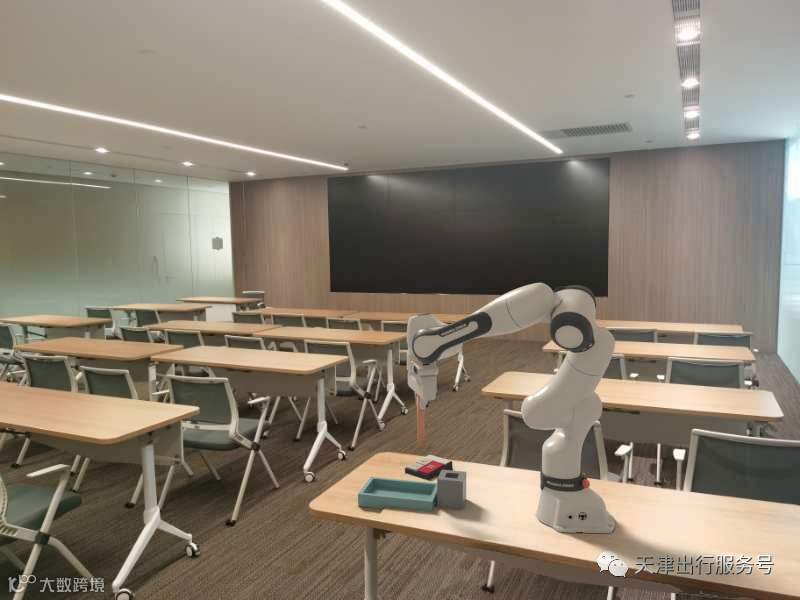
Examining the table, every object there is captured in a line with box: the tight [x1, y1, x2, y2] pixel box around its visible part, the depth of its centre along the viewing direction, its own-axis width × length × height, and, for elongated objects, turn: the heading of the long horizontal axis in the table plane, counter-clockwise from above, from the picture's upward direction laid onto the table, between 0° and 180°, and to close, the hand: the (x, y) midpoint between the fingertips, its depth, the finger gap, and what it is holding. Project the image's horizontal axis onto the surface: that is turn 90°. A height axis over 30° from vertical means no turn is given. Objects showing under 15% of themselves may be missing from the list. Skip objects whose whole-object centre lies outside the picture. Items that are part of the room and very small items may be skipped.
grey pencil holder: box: [436, 470, 467, 511], centre depth 174 cm, size 8×8×10 cm
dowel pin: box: [416, 395, 426, 447], centre depth 175 cm, size 2×2×16 cm
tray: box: [357, 476, 437, 512], centre depth 179 cm, size 24×14×4 cm, turn 76°
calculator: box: [404, 454, 454, 481], centre depth 202 cm, size 11×4×15 cm
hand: (420, 407), depth 174 cm, fingers closed on dowel pin, 2 cm apart
